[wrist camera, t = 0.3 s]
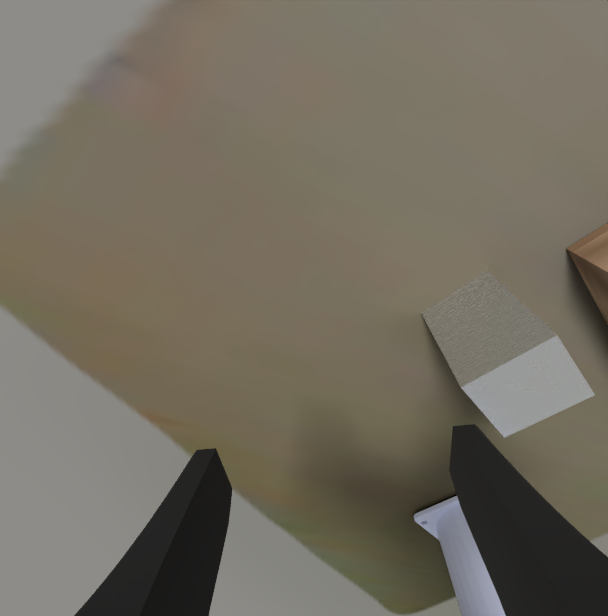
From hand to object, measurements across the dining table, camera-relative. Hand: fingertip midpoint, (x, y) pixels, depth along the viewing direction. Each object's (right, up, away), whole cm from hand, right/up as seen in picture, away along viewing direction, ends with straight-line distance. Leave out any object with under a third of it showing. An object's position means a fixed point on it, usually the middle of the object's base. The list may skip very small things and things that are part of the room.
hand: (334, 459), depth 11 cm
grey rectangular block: (+8, +4, +9) cm, 13 cm away
